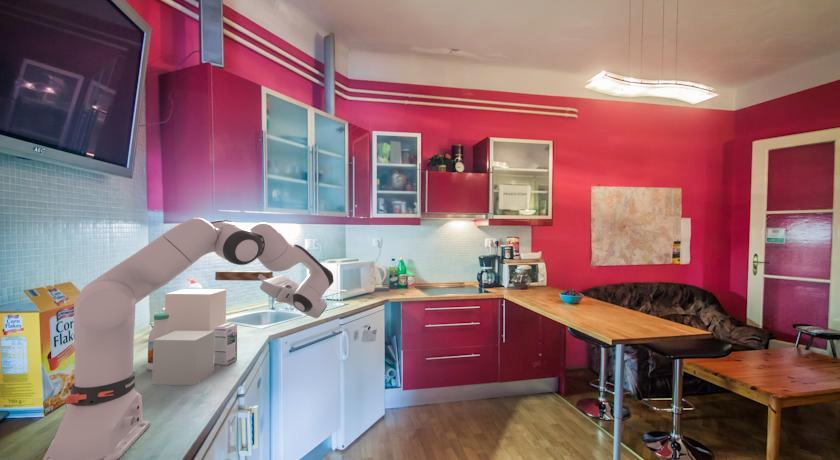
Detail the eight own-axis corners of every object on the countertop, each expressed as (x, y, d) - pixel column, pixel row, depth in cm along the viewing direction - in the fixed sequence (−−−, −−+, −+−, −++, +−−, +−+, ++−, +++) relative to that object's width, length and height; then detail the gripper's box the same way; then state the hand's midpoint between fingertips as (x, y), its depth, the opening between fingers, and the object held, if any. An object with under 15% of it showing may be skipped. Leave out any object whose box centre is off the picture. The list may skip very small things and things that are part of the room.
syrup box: (226, 365, 134) (227, 327, 134) (213, 364, 135) (214, 326, 135) (237, 360, 140) (237, 323, 140) (224, 358, 141) (225, 323, 141)
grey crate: (213, 371, 128) (214, 331, 128) (194, 385, 117) (195, 340, 117) (174, 371, 127) (175, 330, 127) (152, 384, 116) (153, 339, 116)
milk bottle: (143, 368, 130) (144, 314, 130) (166, 361, 137) (167, 310, 137) (154, 372, 126) (155, 317, 126) (177, 365, 133) (178, 313, 133)
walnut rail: (272, 279, 147) (272, 271, 147) (269, 280, 144) (269, 272, 144) (219, 279, 147) (220, 270, 147) (215, 280, 143) (215, 271, 143)
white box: (225, 348, 153) (226, 289, 153) (208, 358, 141) (210, 294, 141) (183, 348, 152) (184, 288, 153) (163, 358, 140) (165, 293, 141)
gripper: (302, 282, 156) (275, 266, 156) (285, 289, 135) (254, 270, 135) (294, 294, 156) (268, 278, 156) (276, 303, 135) (246, 284, 135)
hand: (261, 274), depth 145 cm, fingers closed on walnut rail, 3 cm apart
